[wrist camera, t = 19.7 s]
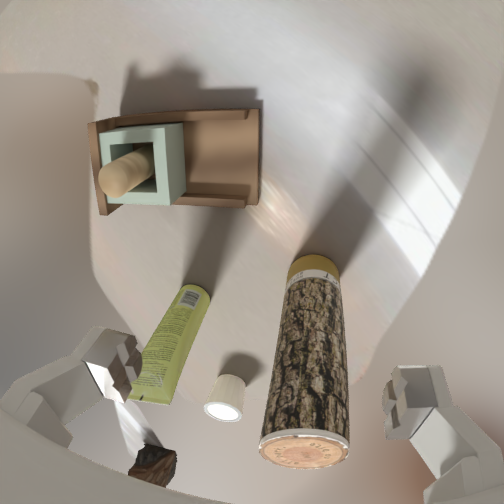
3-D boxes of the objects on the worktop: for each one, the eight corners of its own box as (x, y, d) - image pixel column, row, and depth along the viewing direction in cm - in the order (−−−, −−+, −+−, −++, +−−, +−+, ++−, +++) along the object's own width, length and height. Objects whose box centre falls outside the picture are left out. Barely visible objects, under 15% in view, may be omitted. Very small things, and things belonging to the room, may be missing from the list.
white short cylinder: (256, 387, 55) (249, 417, 49) (231, 397, 58) (223, 425, 52) (230, 367, 53) (221, 398, 47) (206, 378, 56) (195, 407, 50)
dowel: (139, 144, 35) (96, 163, 27) (165, 143, 34) (125, 163, 27) (141, 171, 37) (100, 197, 29) (166, 172, 36) (129, 198, 29)
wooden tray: (118, 116, 35) (87, 123, 29) (259, 108, 32) (248, 112, 26) (126, 196, 40) (99, 215, 34) (258, 202, 37) (248, 224, 32)
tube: (199, 317, 48) (152, 420, 31) (172, 299, 47) (115, 397, 30) (217, 295, 45) (170, 405, 28) (188, 276, 45) (127, 380, 28)
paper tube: (295, 299, 43) (272, 470, 22) (281, 258, 40) (245, 436, 19) (342, 290, 41) (352, 465, 20) (333, 246, 38) (344, 429, 17)
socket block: (121, 126, 34) (98, 133, 30) (182, 122, 33) (164, 127, 29) (128, 189, 38) (107, 203, 34) (186, 190, 37) (170, 205, 33)
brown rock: (179, 464, 85) (162, 511, 68) (144, 452, 86) (125, 498, 69) (176, 451, 79) (157, 504, 62) (139, 438, 80) (116, 489, 63)
